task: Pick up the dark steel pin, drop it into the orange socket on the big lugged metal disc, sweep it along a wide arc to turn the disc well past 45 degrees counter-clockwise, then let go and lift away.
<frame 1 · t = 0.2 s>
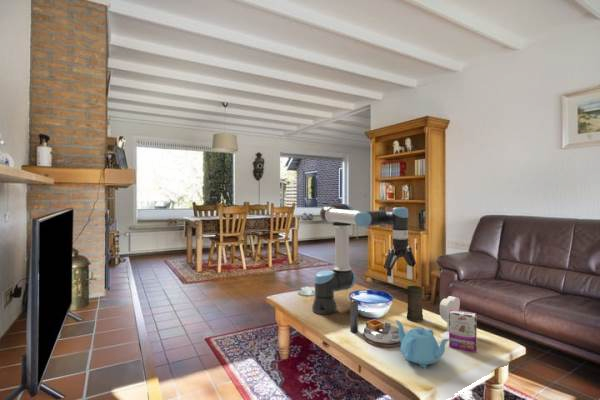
hand: (400, 280, 164), 28 cm above the table, fingers open, 13 cm apart
container: (414, 319, 185), on the table
lugged metal disc: (383, 331, 161), point 4 cm above the table, hinge at 0.0°
teapot: (420, 361, 139), on the table
candy bar box: (462, 348, 151), on the table
nut base: (383, 338, 161), on the table
heart sculpture: (449, 333, 166), on the table
steel pin: (354, 331, 170), on the table
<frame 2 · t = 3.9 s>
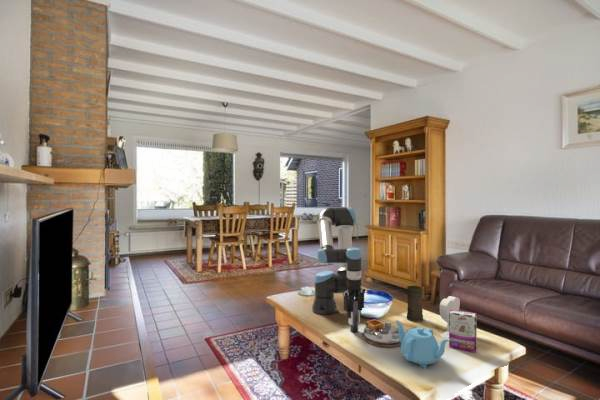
hand: (354, 323, 170), 4 cm above the table, fingers closed on steel pin, 4 cm apart
steel pin: (354, 331, 170), on the table, touching gripper
everything else where it was.
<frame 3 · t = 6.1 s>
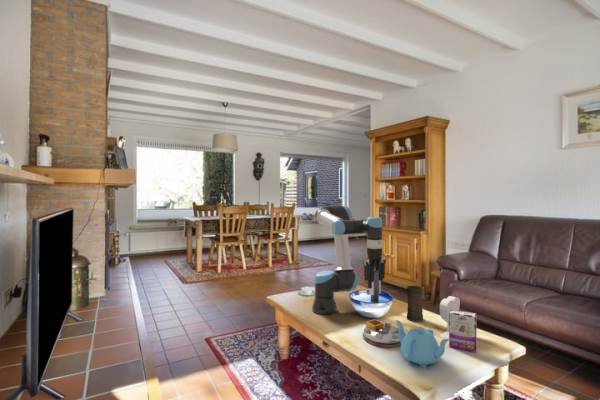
hand: (374, 293, 166), 21 cm above the table, fingers closed on steel pin, 4 cm apart
steel pin: (374, 301, 166), point 16 cm above the table, touching gripper
everything else where it was.
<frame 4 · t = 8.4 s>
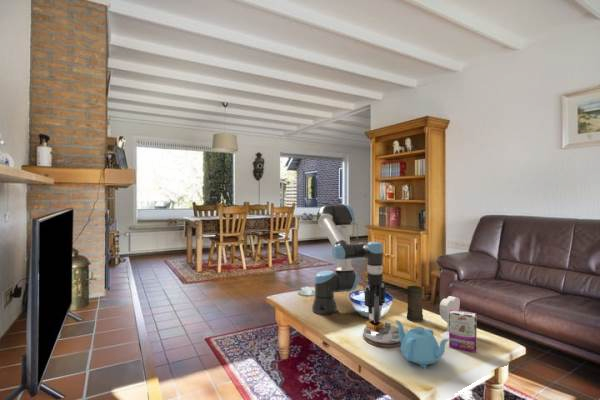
hand: (375, 318, 166), 8 cm above the table, fingers closed on steel pin, 4 cm apart
steel pin: (375, 326, 166), point 4 cm above the table, touching gripper
everything else where it was.
when the fingers open (8 cm above the table, at t = 9.0 s): steel pin moves 3 cm, resting on lugged metal disc.
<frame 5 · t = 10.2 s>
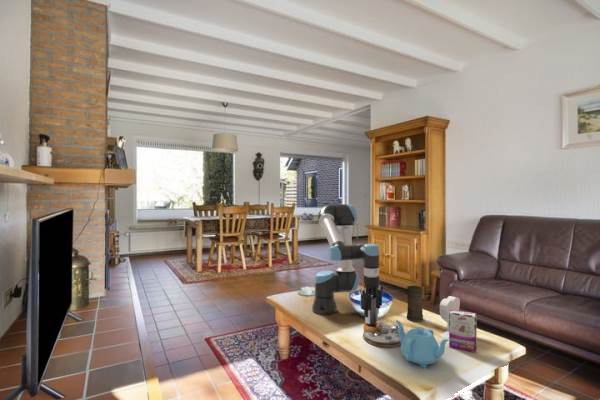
hand: (371, 321, 163), 8 cm above the table, fingers open, 4 cm apart
lugged metal disc: (383, 331, 161), point 4 cm above the table, hinge at 31.0°, touching steel pin
steel pin: (372, 329, 163), point 4 cm above the table, touching gripper, lugged metal disc
everything else where it was.
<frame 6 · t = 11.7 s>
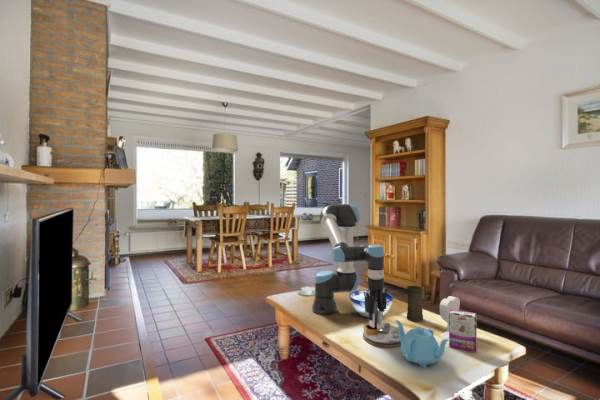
hand: (375, 325, 158), 8 cm above the table, fingers closed on steel pin, 4 cm apart
lugged metal disc: (383, 331, 161), point 4 cm above the table, hinge at 61.8°, touching steel pin
steel pin: (372, 331, 161), point 4 cm above the table, tilted 6°, touching gripper, lugged metal disc
everything else where it was.
when the fingers open (8 cm above the table, at t = 12.1 s): steel pin stays where it is, resting on lugged metal disc.
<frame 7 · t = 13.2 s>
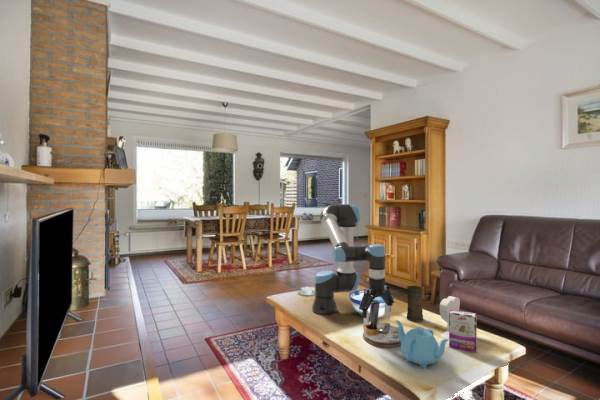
hand: (376, 321, 157), 10 cm above the table, fingers open, 13 cm apart
steel pin: (372, 330, 161), point 4 cm above the table, tilted 16°, touching lugged metal disc
everything else where it was.
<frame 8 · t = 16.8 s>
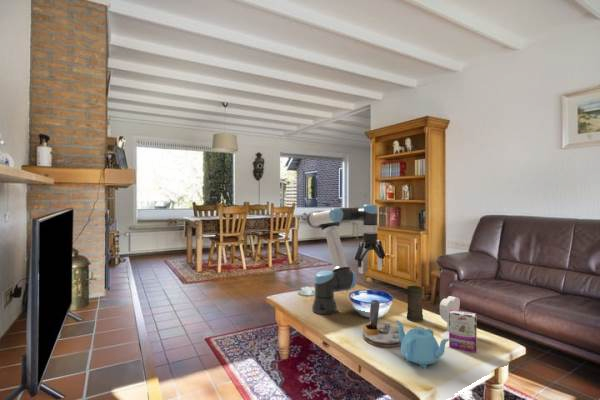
hand: (370, 271, 179), 29 cm above the table, fingers open, 13 cm apart
nothing on the table moved.
at the end: lugged metal disc at +62° (first picture: +0°); steel pin inside the target area on the lugged metal disc (1.8 cm from its centre), point 3.9 cm above the lugged metal disc's base; the gripper is holding nothing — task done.
